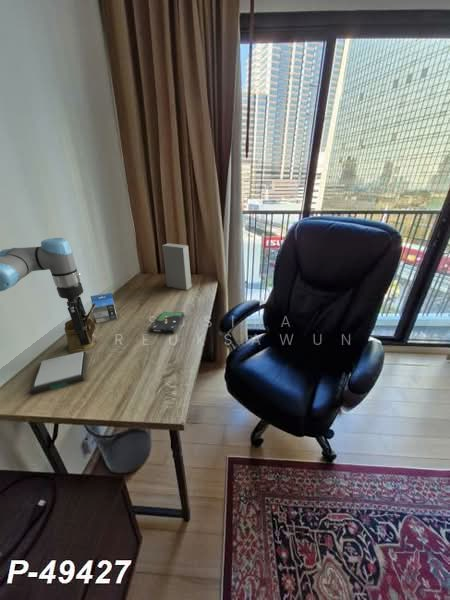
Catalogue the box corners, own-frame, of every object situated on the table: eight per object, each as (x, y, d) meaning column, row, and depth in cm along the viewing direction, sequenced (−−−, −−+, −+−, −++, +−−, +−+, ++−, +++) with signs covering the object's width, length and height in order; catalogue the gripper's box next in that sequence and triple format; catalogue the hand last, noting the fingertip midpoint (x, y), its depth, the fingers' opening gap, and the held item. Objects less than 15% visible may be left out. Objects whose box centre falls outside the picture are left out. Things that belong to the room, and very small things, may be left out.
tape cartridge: (96, 324, 112) (89, 299, 107) (96, 320, 115) (89, 296, 110) (117, 320, 115) (111, 296, 110) (117, 316, 118) (111, 292, 113)
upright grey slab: (192, 287, 148) (189, 245, 137) (186, 291, 143) (183, 247, 132) (173, 283, 153) (168, 242, 142) (167, 287, 148) (161, 245, 137)
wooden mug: (104, 350, 95) (93, 309, 87) (65, 356, 93) (49, 313, 84) (108, 336, 103) (98, 297, 95) (72, 341, 100) (58, 302, 92)
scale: (33, 396, 76) (29, 389, 74) (42, 367, 87) (39, 360, 86) (84, 382, 81) (82, 375, 79) (87, 356, 92) (85, 350, 91)
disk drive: (174, 335, 104) (184, 317, 117) (174, 329, 102) (183, 311, 115) (150, 334, 105) (163, 315, 118) (149, 328, 104) (162, 310, 117)
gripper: (78, 293, 80) (96, 350, 90) (82, 273, 96) (97, 324, 106) (51, 297, 77) (72, 356, 87) (60, 276, 93) (77, 328, 104)
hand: (86, 338), depth 97 cm, fingers closed on wooden mug, 7 cm apart
